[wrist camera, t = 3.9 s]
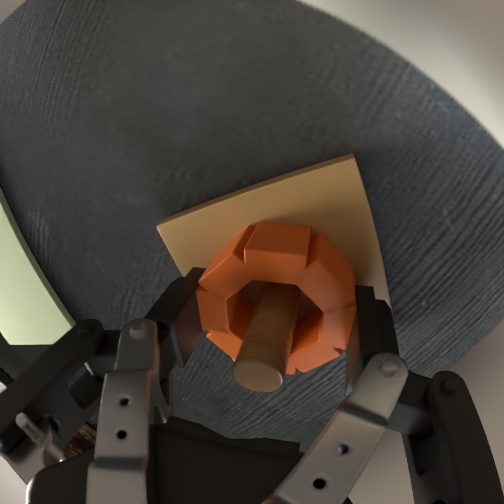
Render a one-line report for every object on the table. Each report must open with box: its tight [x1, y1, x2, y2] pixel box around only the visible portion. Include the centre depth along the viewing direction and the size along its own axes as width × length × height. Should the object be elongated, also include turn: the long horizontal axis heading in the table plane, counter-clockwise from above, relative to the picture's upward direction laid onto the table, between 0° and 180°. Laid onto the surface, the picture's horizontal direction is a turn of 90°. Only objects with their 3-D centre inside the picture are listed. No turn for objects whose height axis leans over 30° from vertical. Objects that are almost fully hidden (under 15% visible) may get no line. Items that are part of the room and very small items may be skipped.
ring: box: [196, 222, 357, 375], centre depth 12 cm, size 6×6×2 cm
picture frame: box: [0, 369, 13, 393], centre depth 42 cm, size 16×3×21 cm
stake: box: [156, 153, 395, 392], centre depth 11 cm, size 8×8×6 cm
